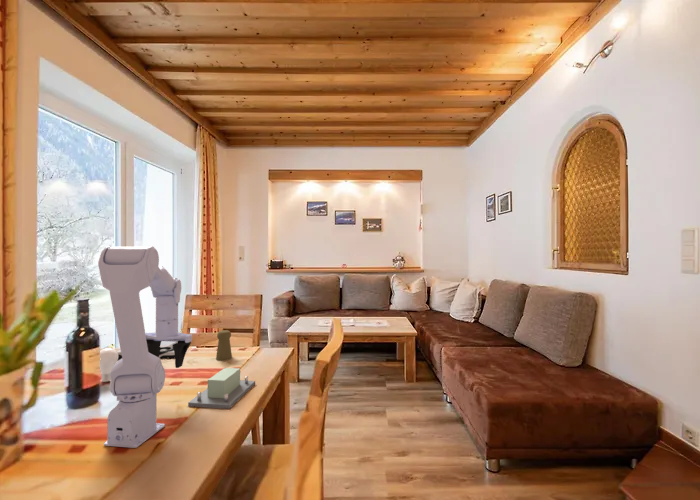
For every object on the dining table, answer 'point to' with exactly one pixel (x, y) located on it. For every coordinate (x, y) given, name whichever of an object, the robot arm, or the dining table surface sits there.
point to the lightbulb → (107, 362)
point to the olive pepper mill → (224, 346)
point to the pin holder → (225, 402)
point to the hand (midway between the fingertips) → (166, 366)
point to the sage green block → (223, 382)
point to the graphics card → (163, 353)
